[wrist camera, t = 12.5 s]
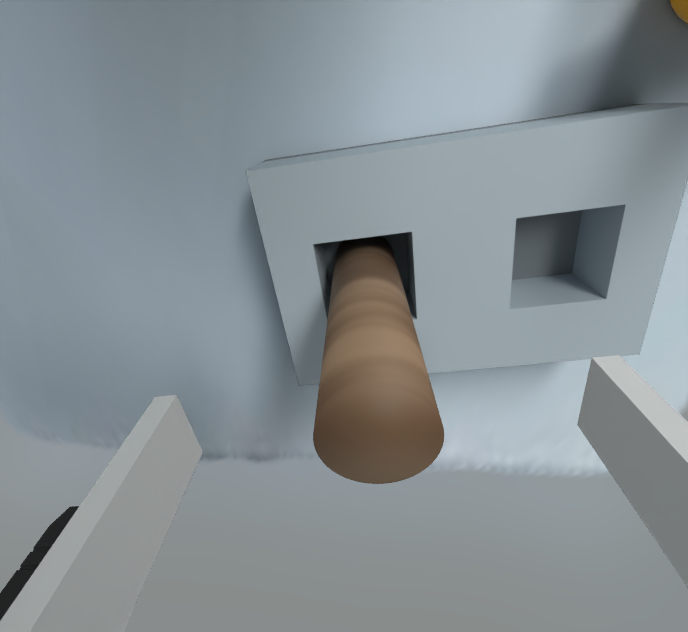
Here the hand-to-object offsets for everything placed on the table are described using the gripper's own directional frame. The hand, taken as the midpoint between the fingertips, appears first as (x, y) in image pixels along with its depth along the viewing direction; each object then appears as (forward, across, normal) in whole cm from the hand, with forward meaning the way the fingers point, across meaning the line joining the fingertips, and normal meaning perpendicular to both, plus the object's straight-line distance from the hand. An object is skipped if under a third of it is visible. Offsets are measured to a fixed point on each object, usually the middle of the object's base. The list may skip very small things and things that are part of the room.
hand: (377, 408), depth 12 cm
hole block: (+16, +5, -1) cm, 17 cm away
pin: (+15, 0, -1) cm, 15 cm away
